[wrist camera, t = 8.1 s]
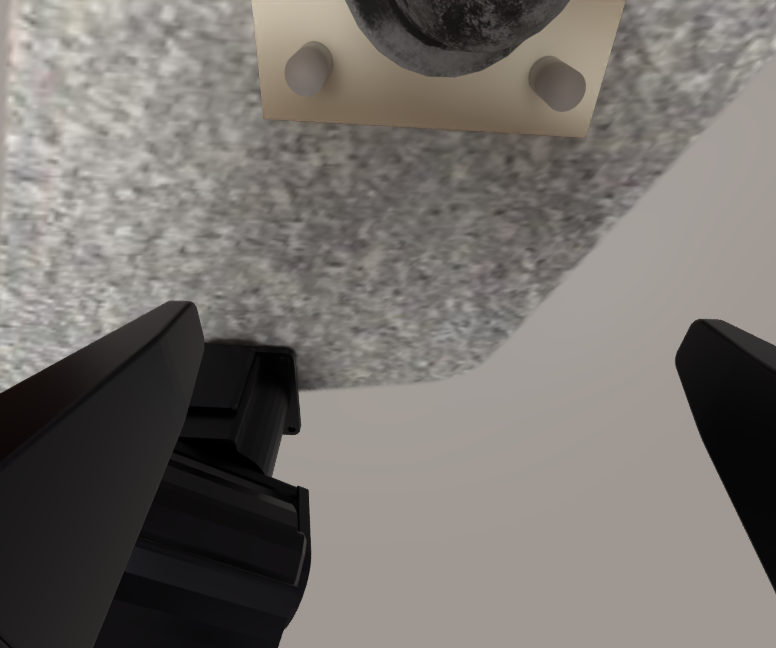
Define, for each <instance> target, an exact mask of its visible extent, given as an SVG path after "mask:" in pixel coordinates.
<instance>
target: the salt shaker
mask: <svg viewBox="0 0 776 648" xmlns="http://www.w3.org/2000/svg"><path fill="white" fill-rule="evenodd" d="M345 1H346V3H347V5H348V7H349V9H350V11H351V13H352V16H353V18H354V20H355V22H356V24H357V26H358V28H359V29H360V30H361V31H362V32H363V34H364V35H365V36H366V37H367V38H368V40H369V41H370V42H371V43H372V44H373V46H374V47H375V48H376V49H377V50H378V51H379V52H380V53H381V54H383V55H384V56H386V57H387V58H389V59H390V60H391V61H393V62H394V63H396V64H397V65H399V66H400V67H401V68H404V69H407V70H410V71H413V72H416V73H419V74H422V75H425V76H427V77H454V78H455V77H459V76H463V75H467V74H471V73H475V72H479V71H482V70H484V69H486V68H488V67H489V66H491V65H493V64H495V63H496V62H498V61H500V60H502V59H504V58H505V57H507V56H509V55H510V54H511V53H512V52H513V51H514V50H515V49H516V48H517V47H518V46H519V45H520V44H522V43H523V42H524V41H525V40H527V39H528V38H530V37H532V36H533V35H535V34H537V33H539V32H540V31H542V30H543V29H544V28H545V27H546V26H547V25H548V24H549V23H550V22H551V21H552V20H553V19H554V18H556V17H557V16H558V15H559V14H560V13H561V12H562V11H563V9H564V8H565V7H566V5H567V4H568V2H569V1H570V0H345Z"/></svg>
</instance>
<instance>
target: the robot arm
mask: <svg viewBox="0 0 776 648" xmlns="http://www.w3.org/2000/svg"><path fill="white" fill-rule="evenodd" d="M283 357H287V358H288V359H284V358H283ZM675 365H676V369H677V371H678V375H679V377H680V380H681V383H682V386H683V389H684V391H685V395H686V397H687V400H688V403H689V406H690V409H691V412H692V414H693V417H694V420H695V423H696V426H697V428H698V431H699V434H700V436H701V438H702V441H703V443H704V445H705V448H706V450H707V452H708V454H709V456H710V458H711V460H712V462H713V464H714V466H715V468H716V470H717V473H718V475H719V477H720V479H721V481H722V483H723V485H724V487H725V489H726V491H727V493H728V495H729V497H730V499H731V502H732V504H733V506H734V508H735V510H736V512H737V514H738V516H739V518H740V520H741V522H742V525H743V527H744V529H745V531H746V533H747V535H748V537H749V539H750V541H751V543H752V545H753V547H754V549H755V552H756V554H757V555H758V558H759V560H760V562H761V564H762V566H763V568H764V570H765V572H766V574H767V576H768V578H769V581H770V582H771V585H772V587H773V589H774V591H775V593H776V346H775V345H773V344H770V343H768V342H766V341H764V340H762V339H760V338H757V337H756V336H754V335H752V334H750V333H748V332H745V331H744V330H741V329H739V328H737V327H735V326H733V325H731V324H729V323H727V322H725V321H723V320H718V319H698V320H696V321H694V322H693V323H692V324H691V326H690V327H689V329H688V332H687V333H686V335H685V337H684V339H683V341H682V343H681V345H680V347H679V349H678V351H677V354H676V357H675ZM300 427H301V418H300V406H299V395H298V383H297V371H296V359H295V354H294V352H293V351H292V350H290V349H287V348H271V347H252V346H232V345H212V344H204V336H203V331H202V327H201V323H200V319H199V315H198V311H197V307H196V306H195V304H194V303H193V302H191V301H168V302H166V303H164V304H162V305H161V306H159V307H157V308H155V309H153V310H152V311H150V312H148V313H146V314H144V315H142V316H141V317H139V318H137V319H135V320H133V321H131V322H130V323H128V324H126V325H124V326H122V327H120V328H119V329H117V330H115V331H113V332H111V333H110V334H108V335H106V336H104V337H102V338H100V339H99V340H97V341H95V342H93V343H91V344H89V345H88V346H86V347H84V348H82V349H80V350H78V351H77V352H75V353H73V354H71V355H69V356H67V357H66V358H64V359H62V360H60V361H58V362H57V363H55V364H53V365H51V366H49V367H47V368H46V369H44V370H42V371H40V372H38V373H36V374H35V375H33V376H31V377H29V378H27V379H25V380H24V381H22V382H20V383H18V384H16V385H15V386H13V387H11V388H9V389H7V390H5V391H4V392H2V393H0V648H278V646H279V643H280V639H281V637H282V633H283V631H284V629H285V628H286V627H287V626H288V625H289V623H290V622H291V620H292V618H293V617H294V615H295V613H296V611H297V609H298V607H299V604H300V602H301V600H302V597H303V594H304V591H305V588H306V585H307V581H308V576H309V572H310V565H311V538H310V514H309V491H308V489H306V488H303V487H300V486H297V487H295V486H292V485H290V484H287V483H285V482H282V481H280V480H277V479H274V478H272V474H273V470H274V466H275V462H276V458H277V454H278V450H279V446H280V441H281V438H282V434H283V435H296V434H298V433H299V432H300Z"/></svg>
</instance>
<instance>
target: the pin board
mask: <svg viewBox="0 0 776 648" xmlns="http://www.w3.org/2000/svg"><path fill="white" fill-rule="evenodd" d="M625 1H626V0H570V1H569V2H568V4H567V5H566V7H565V8H564V9H563V11H562V12H561V13H560V14H559V15H558V16H557V17H556V18H554V19H553V20H552V21H551V22H550V23H549V24H548V25H547V26H546V27H545V28H544V29H543V30H542V31H540V32H539V33H537V34H535V35H533V36H532V37H530V38H528V39H527V40H525V41H524V42H523V43H522V44H520V45H519V46H518V47H517V48H516V49H515V50H514V51H513V52H512V53H511V54H510V55H509V56H507V57H505V58H504V59H502V60H500V61H498V62H496V63H495V64H493V65H491V66H489V67H488V68H486V69H484V70H482V71H479V72H475V73H471V74H467V75H463V76H459V77H455V78H454V77H427V76H425V75H422V74H419V73H416V72H413V71H410V70H407V69H404V68H401V67H400V66H399V65H397V64H396V63H394V62H393V61H391V60H390V59H389V58H387V57H386V56H384V55H383V54H381V53H380V52H379V51H378V50H377V49H376V48H375V47H374V46H373V44H372V43H371V42H370V41H369V40H368V38H367V37H366V36H365V35H364V34H363V32H362V31H361V30H360V29H359V28H358V26H357V24H356V22H355V20H354V18H353V16H352V13H351V11H350V9H349V7H348V5H347V3H346V1H345V0H252V9H253V19H254V29H255V39H256V49H257V59H258V69H259V80H260V90H261V100H262V110H263V119H275V120H292V121H309V122H327V123H344V124H361V125H378V126H395V127H412V128H429V129H446V130H463V131H480V132H498V133H515V134H532V135H549V136H566V137H583V138H586V136H587V132H588V129H589V125H590V122H591V118H592V115H593V111H594V108H595V104H596V101H597V98H598V94H599V91H600V87H601V84H602V80H603V77H604V73H605V70H606V67H607V63H608V60H609V56H610V53H611V49H612V46H613V42H614V39H615V36H616V32H617V29H618V25H619V22H620V18H621V15H622V11H623V8H624V4H625Z"/></svg>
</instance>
